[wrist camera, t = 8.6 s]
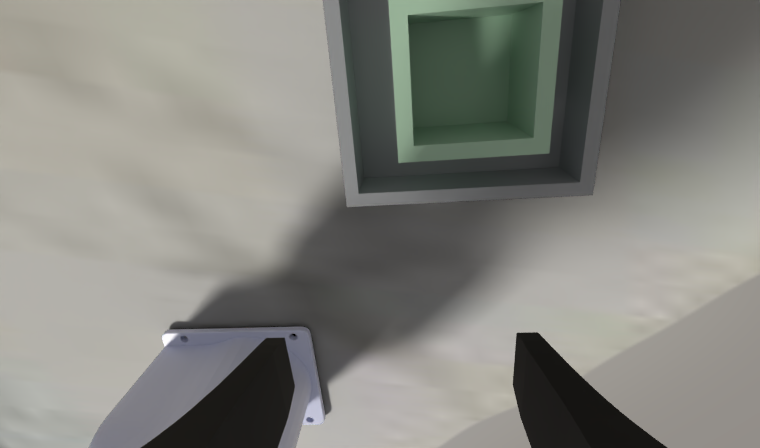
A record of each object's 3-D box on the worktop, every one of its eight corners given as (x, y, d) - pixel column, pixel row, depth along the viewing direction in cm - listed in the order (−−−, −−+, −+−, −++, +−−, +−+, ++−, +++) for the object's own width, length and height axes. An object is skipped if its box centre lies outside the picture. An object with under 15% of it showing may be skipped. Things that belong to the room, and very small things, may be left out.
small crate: (400, 139, 19) (398, 162, 15) (392, 10, 17) (388, -5, 13) (517, 131, 18) (549, 153, 14) (525, -3, 16) (565, -23, 12)
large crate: (354, 186, 20) (346, 207, 18) (328, -58, 16) (313, -82, 14) (566, 175, 20) (592, 195, 17) (596, -88, 15) (637, -119, 13)
